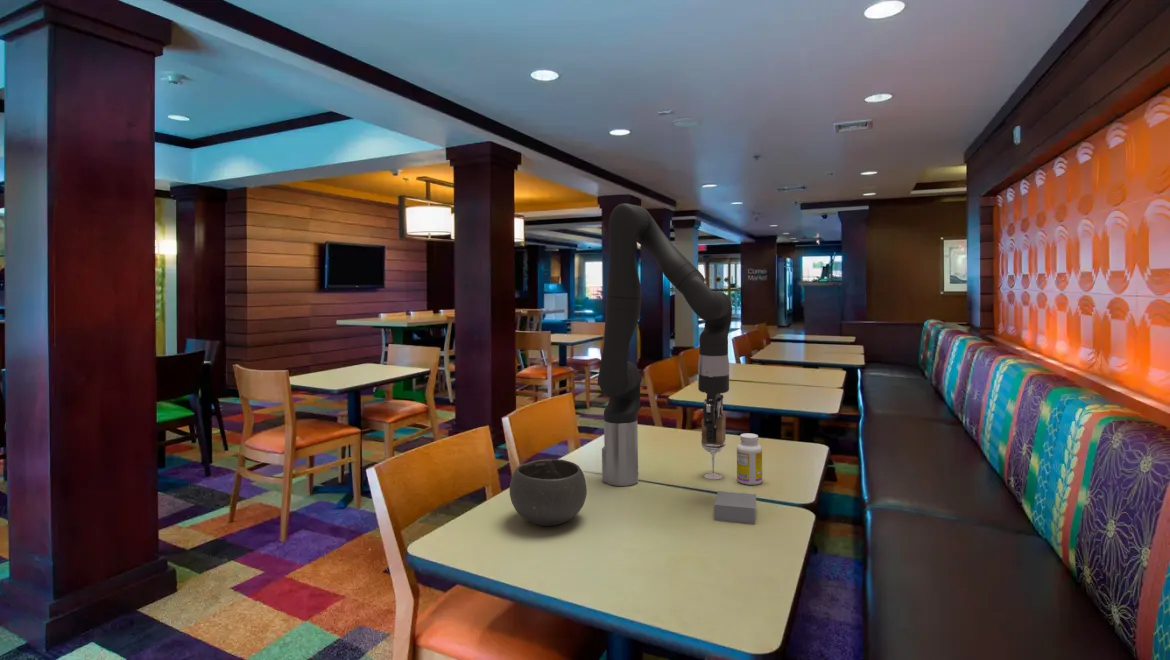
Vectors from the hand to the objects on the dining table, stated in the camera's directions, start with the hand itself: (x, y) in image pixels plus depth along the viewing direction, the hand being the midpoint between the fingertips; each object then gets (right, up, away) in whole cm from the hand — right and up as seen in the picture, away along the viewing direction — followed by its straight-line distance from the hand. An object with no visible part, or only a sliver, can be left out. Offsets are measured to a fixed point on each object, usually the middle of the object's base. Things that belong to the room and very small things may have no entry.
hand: (713, 439), depth 150 cm
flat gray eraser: (+3, -16, -9) cm, 19 cm away
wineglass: (+4, -14, +18) cm, 23 cm away
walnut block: (0, -1, 0) cm, 1 cm away
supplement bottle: (+13, -14, +13) cm, 23 cm away
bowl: (-41, -17, -10) cm, 45 cm away
